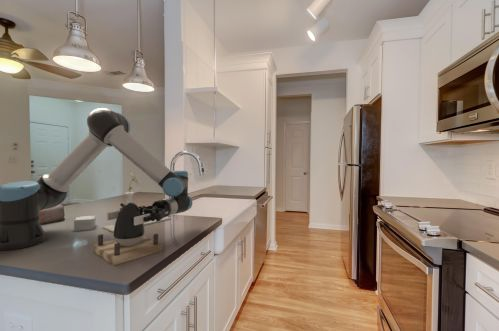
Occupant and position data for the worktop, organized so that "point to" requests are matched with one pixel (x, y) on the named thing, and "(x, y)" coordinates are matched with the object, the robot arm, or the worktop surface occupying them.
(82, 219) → the small box
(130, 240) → the dark grey bell shape
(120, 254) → the oak stand
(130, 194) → the flower in vase
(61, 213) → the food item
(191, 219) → the worktop surface
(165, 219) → the baseboard
